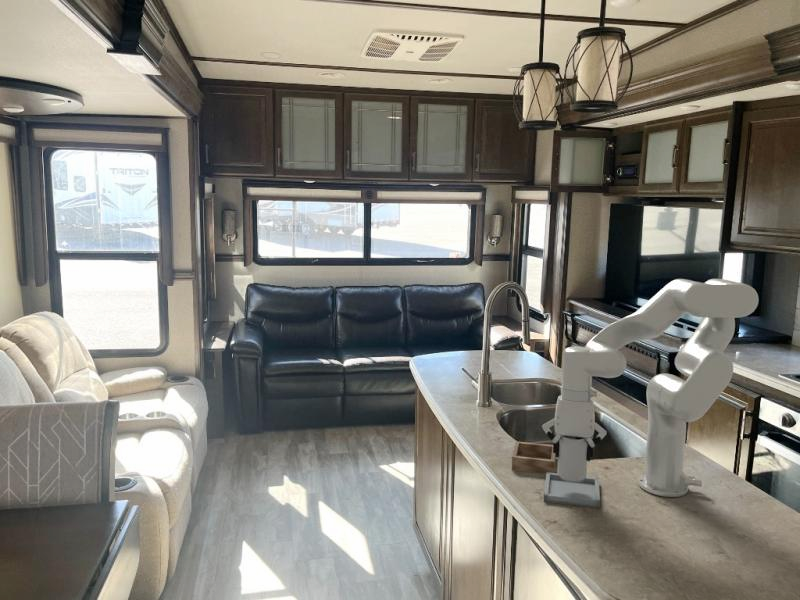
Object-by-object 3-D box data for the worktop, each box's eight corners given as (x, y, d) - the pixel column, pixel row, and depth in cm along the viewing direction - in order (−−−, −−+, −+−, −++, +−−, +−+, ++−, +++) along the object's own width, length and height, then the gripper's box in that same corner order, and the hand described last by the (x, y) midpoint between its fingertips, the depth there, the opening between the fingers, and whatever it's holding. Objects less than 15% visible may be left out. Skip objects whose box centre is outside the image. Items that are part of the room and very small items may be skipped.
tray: (598, 484, 172) (598, 478, 172) (599, 508, 159) (600, 501, 158) (546, 478, 176) (546, 472, 175) (543, 501, 162) (543, 494, 162)
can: (587, 485, 162) (589, 441, 160) (557, 482, 163) (559, 439, 162) (584, 472, 169) (587, 430, 167) (556, 470, 171) (558, 428, 169)
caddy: (555, 457, 189) (555, 445, 189) (554, 474, 178) (554, 461, 177) (515, 453, 193) (516, 441, 192) (511, 469, 181) (512, 456, 181)
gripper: (610, 392, 164) (606, 455, 167) (542, 387, 169) (540, 448, 171) (611, 401, 157) (607, 467, 160) (541, 395, 161) (538, 459, 164)
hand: (572, 457), depth 165 cm, fingers closed on can, 7 cm apart
